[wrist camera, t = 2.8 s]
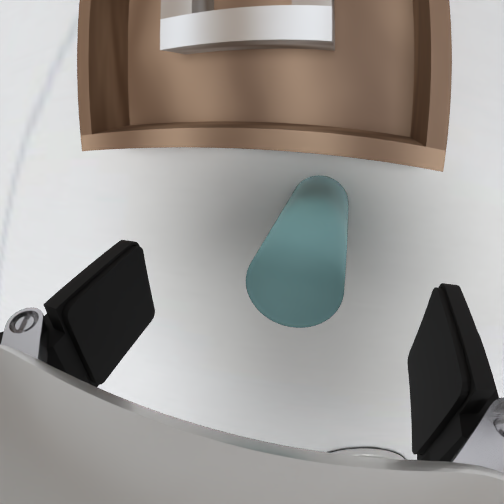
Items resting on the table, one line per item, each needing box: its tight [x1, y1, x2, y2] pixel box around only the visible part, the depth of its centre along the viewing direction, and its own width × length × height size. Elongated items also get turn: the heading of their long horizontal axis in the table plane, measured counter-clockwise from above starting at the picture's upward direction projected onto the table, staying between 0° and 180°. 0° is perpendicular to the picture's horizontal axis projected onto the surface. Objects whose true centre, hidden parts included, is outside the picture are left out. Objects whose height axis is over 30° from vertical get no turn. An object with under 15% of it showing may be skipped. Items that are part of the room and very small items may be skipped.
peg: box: [246, 176, 348, 328], centre depth 16 cm, size 4×4×10 cm
